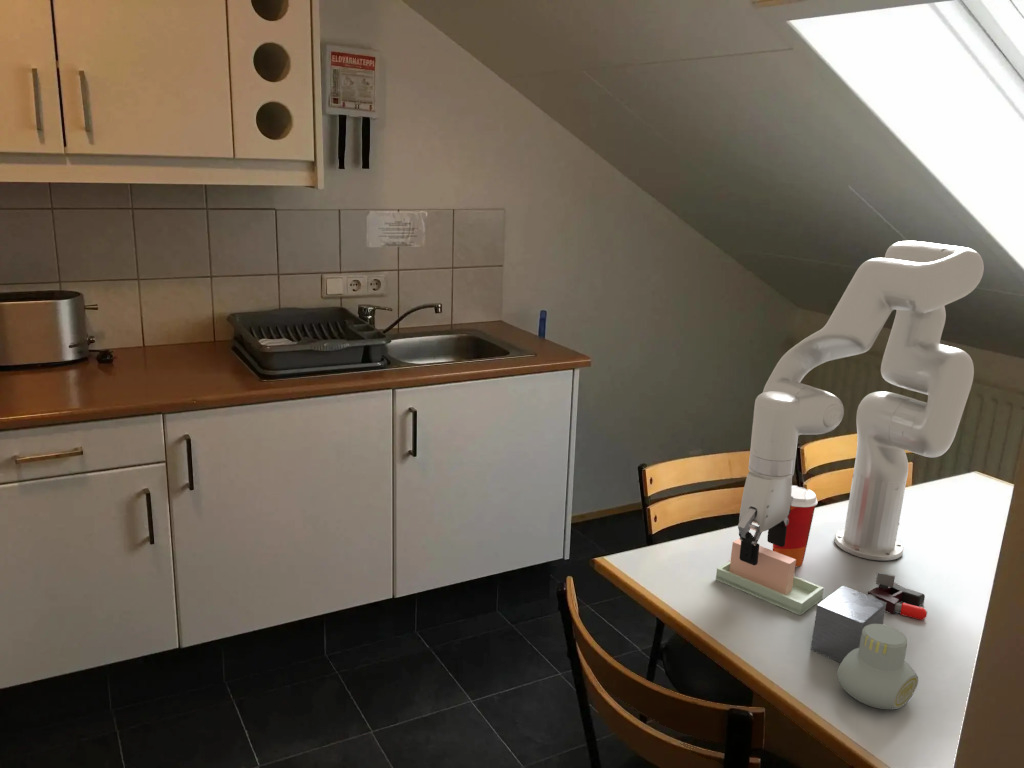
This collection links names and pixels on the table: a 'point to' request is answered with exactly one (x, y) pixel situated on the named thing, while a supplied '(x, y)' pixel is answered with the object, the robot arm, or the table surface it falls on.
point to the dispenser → (844, 622)
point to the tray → (794, 601)
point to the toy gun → (898, 597)
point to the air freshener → (879, 669)
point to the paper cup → (798, 524)
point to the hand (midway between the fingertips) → (762, 553)
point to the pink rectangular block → (765, 568)
